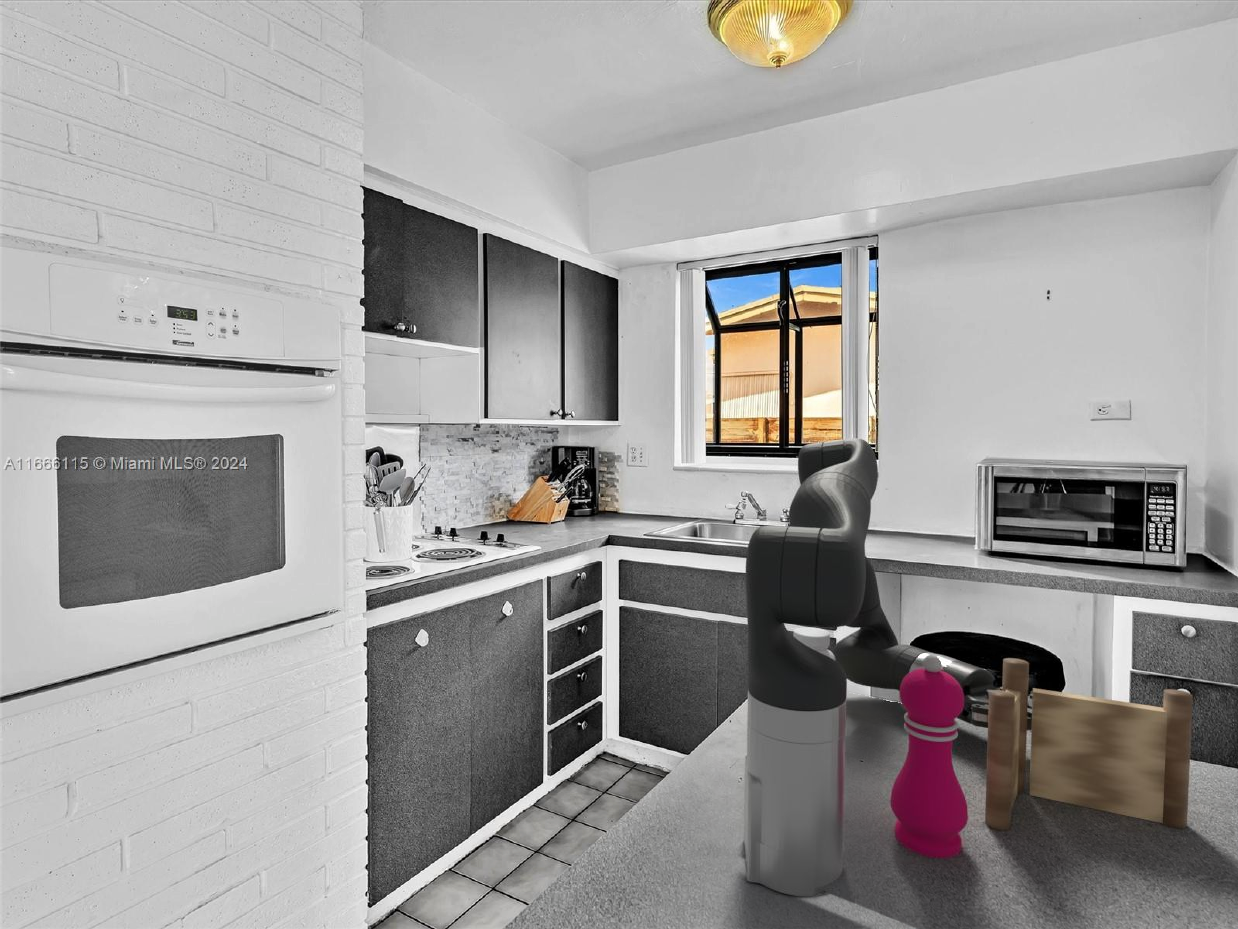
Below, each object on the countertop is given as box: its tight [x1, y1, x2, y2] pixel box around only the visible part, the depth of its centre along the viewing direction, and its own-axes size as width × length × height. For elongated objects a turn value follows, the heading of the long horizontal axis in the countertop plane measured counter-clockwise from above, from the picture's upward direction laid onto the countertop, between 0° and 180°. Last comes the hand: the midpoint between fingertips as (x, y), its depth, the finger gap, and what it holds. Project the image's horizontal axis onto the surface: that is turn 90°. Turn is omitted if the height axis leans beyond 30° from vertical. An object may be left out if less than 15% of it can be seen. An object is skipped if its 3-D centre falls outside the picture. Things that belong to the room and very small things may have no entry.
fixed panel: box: [984, 657, 1030, 832], centre depth 79 cm, size 12×3×15 cm, turn 143°
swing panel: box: [1029, 687, 1194, 830], centre depth 78 cm, size 14×2×14 cm, turn 62°
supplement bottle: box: [792, 626, 835, 660], centre depth 106 cm, size 7×7×13 cm
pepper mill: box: [890, 655, 969, 859], centre depth 72 cm, size 7×7×20 cm
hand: (1075, 734), depth 84 cm, fingers closed
